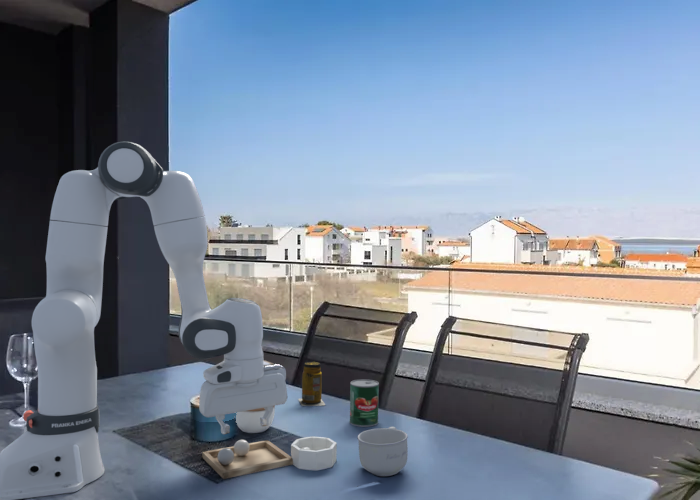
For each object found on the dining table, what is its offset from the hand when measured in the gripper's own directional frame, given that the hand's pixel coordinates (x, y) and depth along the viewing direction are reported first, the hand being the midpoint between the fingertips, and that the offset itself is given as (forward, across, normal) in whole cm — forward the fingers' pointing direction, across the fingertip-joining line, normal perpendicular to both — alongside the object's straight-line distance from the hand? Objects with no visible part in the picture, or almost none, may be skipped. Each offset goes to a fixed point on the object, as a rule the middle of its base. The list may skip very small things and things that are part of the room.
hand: (245, 429), depth 133 cm
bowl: (+7, -12, +11) cm, 18 cm away
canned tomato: (+8, -38, -9) cm, 40 cm away
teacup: (+8, -24, +21) cm, 33 cm away
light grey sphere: (+5, -11, +11) cm, 17 cm away
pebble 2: (+6, +1, 0) cm, 6 cm away
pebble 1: (+6, +6, +3) cm, 9 cm away
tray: (+7, +1, +3) cm, 7 cm away
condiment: (+8, -35, -34) cm, 49 cm away
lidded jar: (+7, -9, -17) cm, 20 cm away
